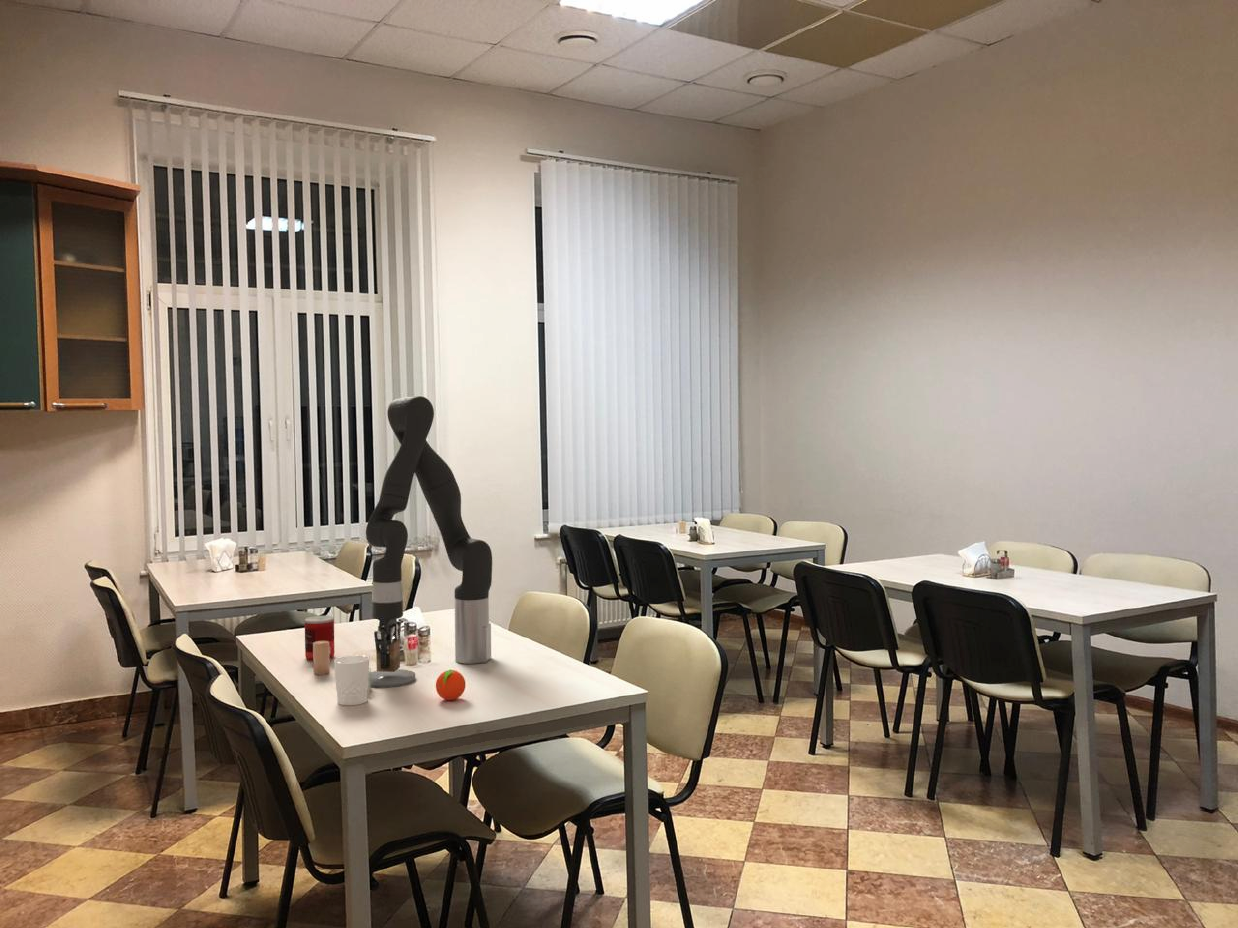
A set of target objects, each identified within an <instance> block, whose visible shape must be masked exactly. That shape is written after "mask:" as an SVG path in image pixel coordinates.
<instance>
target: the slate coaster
mask: <svg viewBox="0 0 1238 928" xmlns="http://www.w3.org/2000/svg"><path fill="white" fill-rule="evenodd" d="M415 681H416V673H415V672H414V671H413V670H408V669H401V668H398V669H397V670H396V671H395V672H380V671H377V670H375V671H371V688H372V687H373V688H395V687H401V686H406V685H409V684H411V683H413V682H415Z"/></svg>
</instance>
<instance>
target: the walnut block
mask: <svg viewBox="0 0 1238 928" xmlns="http://www.w3.org/2000/svg"><path fill="white" fill-rule="evenodd" d="M386 641H389V640H386ZM400 643H401V640H393V643H392V644H391V645H390V653H389V654H390V668H389V669H381V668H380V654H379V653H377V652H376V671H380V672H395V671H396V670H397V669H401V668H400V667H401V656H400V655H401V653H400V652H401V651H400V650H401V649H400V646H401V645H400ZM382 648H384V647H383V645H382Z"/></svg>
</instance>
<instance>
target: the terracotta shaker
mask: <svg viewBox="0 0 1238 928" xmlns="http://www.w3.org/2000/svg"><path fill="white" fill-rule="evenodd" d="M312 662H313V666H312V667H313V674H314V676H315V675H316V676H323V675H328V674H330V673H331V671H330V666H331V664H330V659H329V641H316V642H314V643H313V661H312Z"/></svg>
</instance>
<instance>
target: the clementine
mask: <svg viewBox="0 0 1238 928" xmlns="http://www.w3.org/2000/svg"><path fill="white" fill-rule="evenodd" d="M465 689H466V680H465V677H464V676H463V675H462V673H461V672H459V671H457V670H455V669H447V670H445V671H443V672H442V673H440V674H439V676H438V677H437V678H436V681H435V691H436V693H437V695H439V697H440V698H441V699H444V700H445V701H455V700H457V699H459V698H460V697H462V695H463V694H464V693H465Z"/></svg>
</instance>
